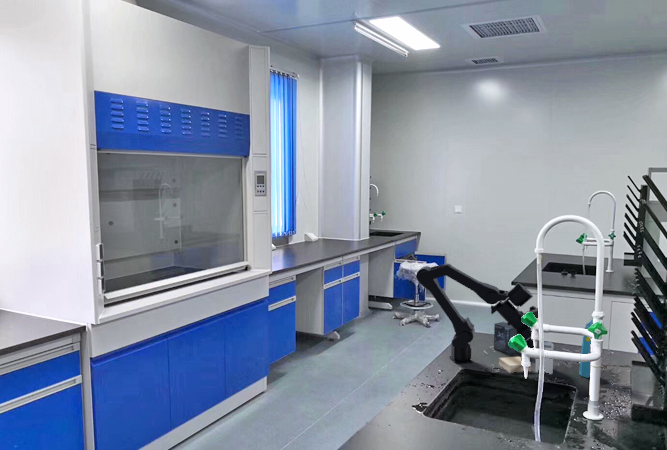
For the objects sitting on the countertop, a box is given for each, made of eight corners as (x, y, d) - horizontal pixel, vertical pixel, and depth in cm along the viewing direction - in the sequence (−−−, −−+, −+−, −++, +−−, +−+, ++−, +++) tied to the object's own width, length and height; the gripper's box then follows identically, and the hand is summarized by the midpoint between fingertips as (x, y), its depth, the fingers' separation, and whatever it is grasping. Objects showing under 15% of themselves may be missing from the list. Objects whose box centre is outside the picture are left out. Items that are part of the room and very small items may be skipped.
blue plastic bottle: (593, 380, 170) (594, 324, 168) (577, 377, 173) (579, 322, 171) (596, 373, 176) (598, 319, 174) (581, 370, 179) (583, 317, 177)
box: (493, 349, 203) (493, 323, 202) (503, 346, 205) (504, 321, 204) (508, 354, 196) (509, 328, 195) (519, 352, 198) (519, 326, 198)
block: (509, 374, 177) (510, 365, 177) (499, 365, 185) (499, 357, 185) (530, 372, 179) (531, 364, 178) (519, 364, 187) (519, 356, 186)
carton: (535, 372, 178) (536, 344, 177) (536, 366, 183) (536, 339, 182) (552, 374, 176) (553, 346, 175) (552, 369, 181) (553, 341, 180)
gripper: (526, 306, 171) (561, 342, 167) (530, 295, 188) (561, 327, 184) (502, 327, 175) (535, 362, 171) (507, 314, 192) (538, 345, 188)
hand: (543, 348), depth 179 cm, fingers open, 9 cm apart
